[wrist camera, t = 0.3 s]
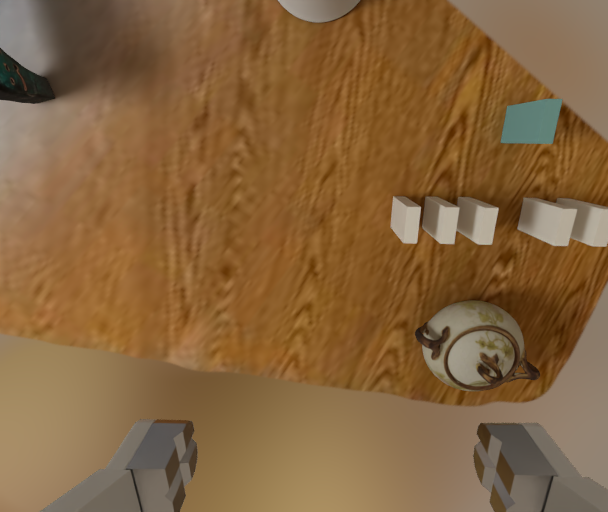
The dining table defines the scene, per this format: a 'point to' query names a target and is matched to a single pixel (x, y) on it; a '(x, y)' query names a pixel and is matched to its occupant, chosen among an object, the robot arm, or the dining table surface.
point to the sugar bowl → (474, 346)
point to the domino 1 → (405, 219)
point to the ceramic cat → (21, 83)
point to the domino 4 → (547, 221)
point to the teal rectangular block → (531, 122)
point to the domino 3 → (476, 220)
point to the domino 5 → (588, 222)
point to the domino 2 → (440, 219)
